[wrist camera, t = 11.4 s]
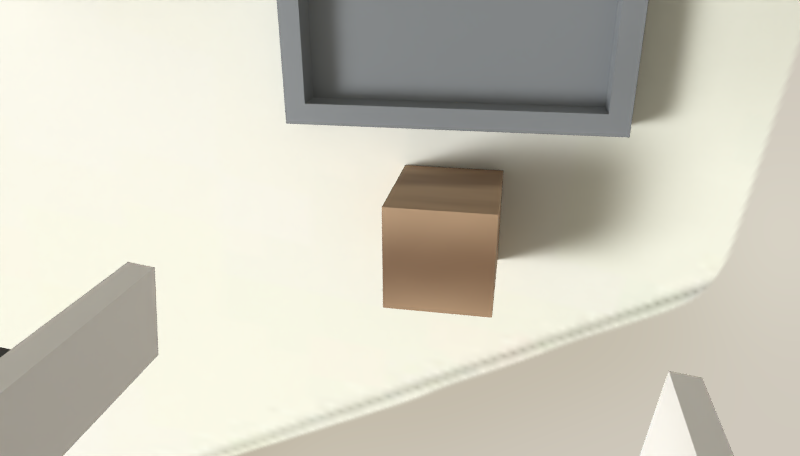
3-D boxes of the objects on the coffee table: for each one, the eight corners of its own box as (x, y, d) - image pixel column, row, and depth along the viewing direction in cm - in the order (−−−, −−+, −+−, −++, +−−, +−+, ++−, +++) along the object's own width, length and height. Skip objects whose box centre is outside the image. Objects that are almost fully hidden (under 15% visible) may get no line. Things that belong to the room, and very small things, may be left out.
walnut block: (405, 165, 33) (381, 206, 28) (503, 170, 33) (498, 214, 27) (405, 252, 35) (383, 307, 30) (497, 259, 35) (491, 317, 29)
